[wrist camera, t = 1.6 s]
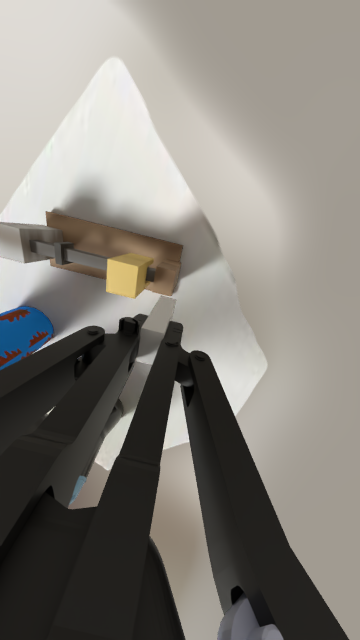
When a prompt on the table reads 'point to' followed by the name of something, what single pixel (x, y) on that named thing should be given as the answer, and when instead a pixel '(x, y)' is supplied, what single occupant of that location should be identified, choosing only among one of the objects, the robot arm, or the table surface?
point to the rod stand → (89, 248)
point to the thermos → (22, 334)
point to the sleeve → (127, 274)
